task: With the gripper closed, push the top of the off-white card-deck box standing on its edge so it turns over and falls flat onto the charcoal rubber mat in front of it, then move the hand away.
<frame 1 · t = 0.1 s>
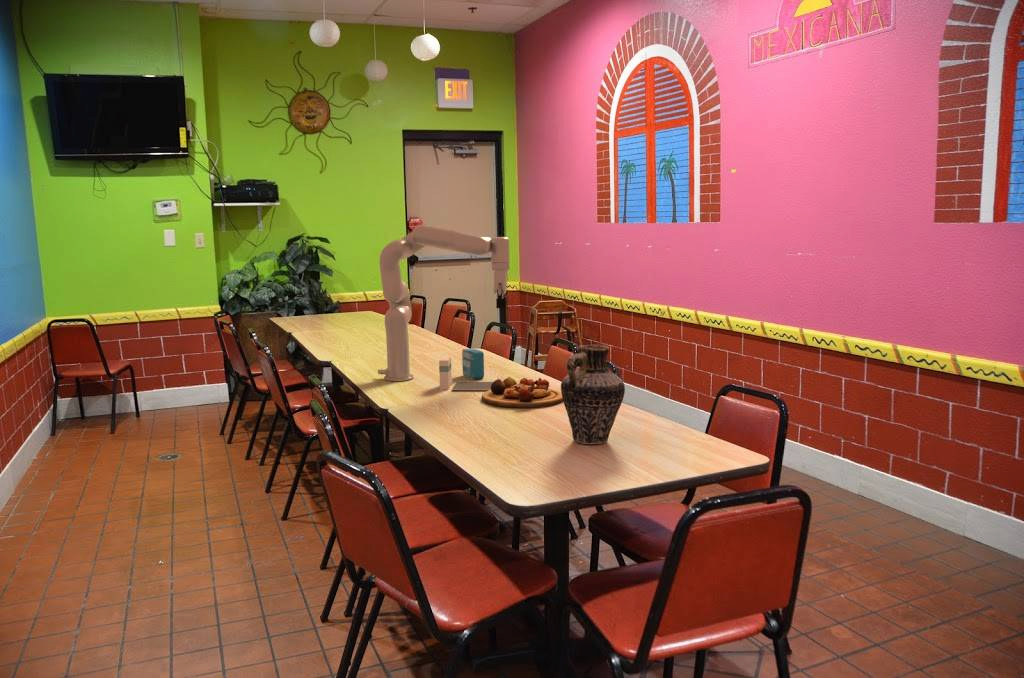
hand: (501, 306, 343), 31 cm above the table, tool pointing down, fingers open, 9 cm apart
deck: (445, 387, 333), on the table
wooden plate with food: (523, 400, 310), on the table
mat: (477, 387, 332), on the table
data package: (473, 377, 353), on the table
jug: (591, 442, 250), on the table
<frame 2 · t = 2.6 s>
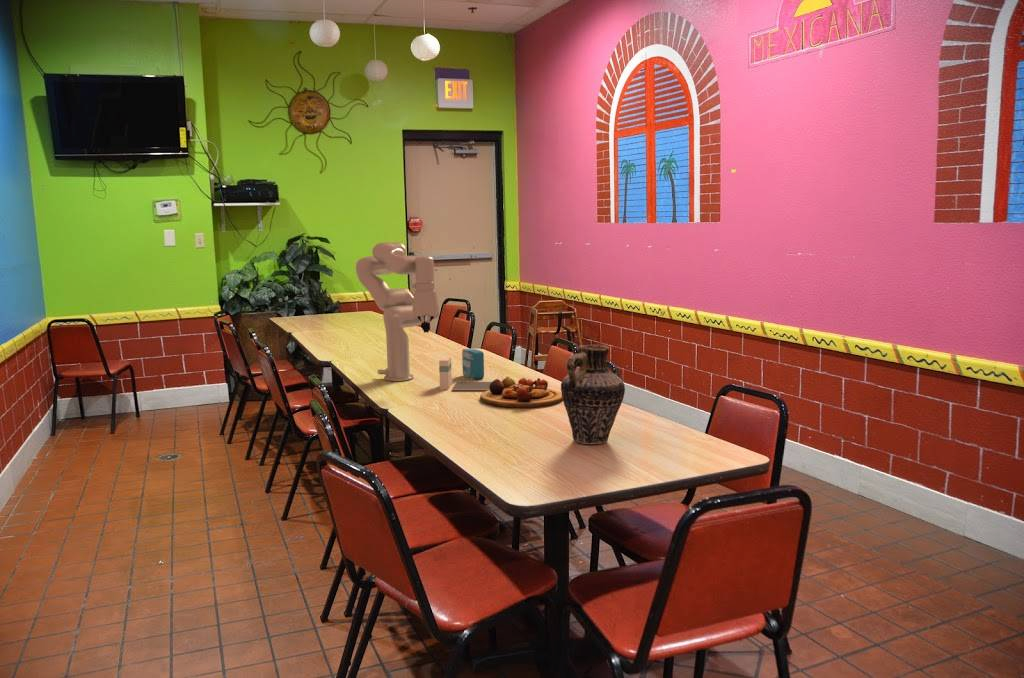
hand: (426, 332, 330), 23 cm above the table, tool pointing down, fingers closed
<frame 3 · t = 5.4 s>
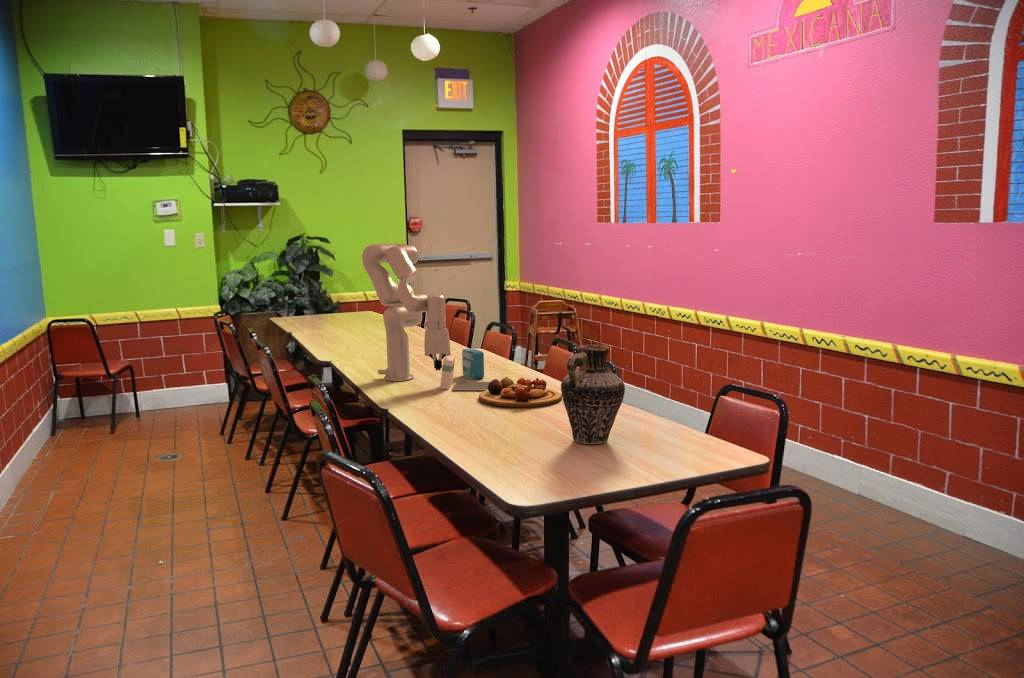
hand: (438, 369, 332), 7 cm above the table, tool pointing down, fingers closed
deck: (445, 386, 333), on the table, tilted 8°
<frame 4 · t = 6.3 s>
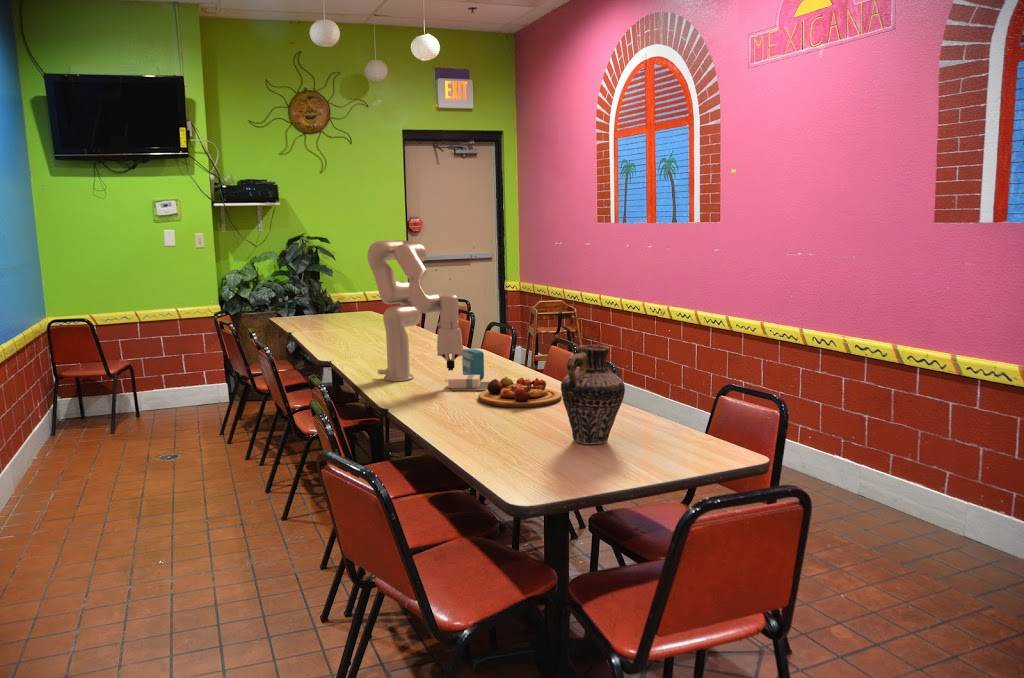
hand: (450, 369, 331), 7 cm above the table, tool pointing down, fingers closed
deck: (449, 381, 332), point 2 cm above the table, tilted 89°, touching mat
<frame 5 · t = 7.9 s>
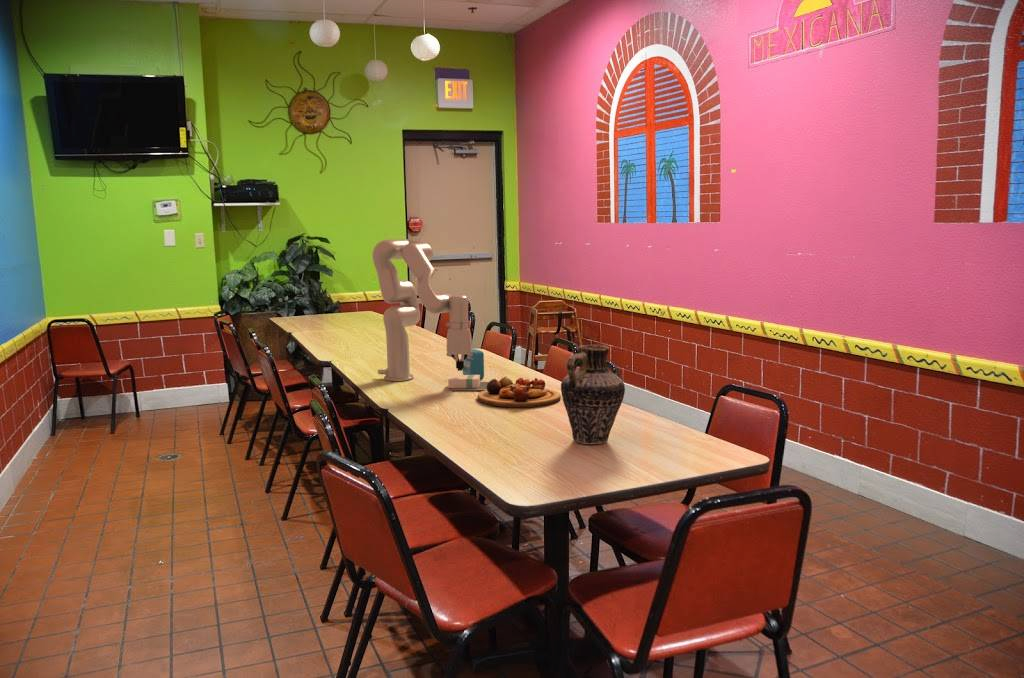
hand: (460, 370, 331), 7 cm above the table, tool pointing down, fingers closed
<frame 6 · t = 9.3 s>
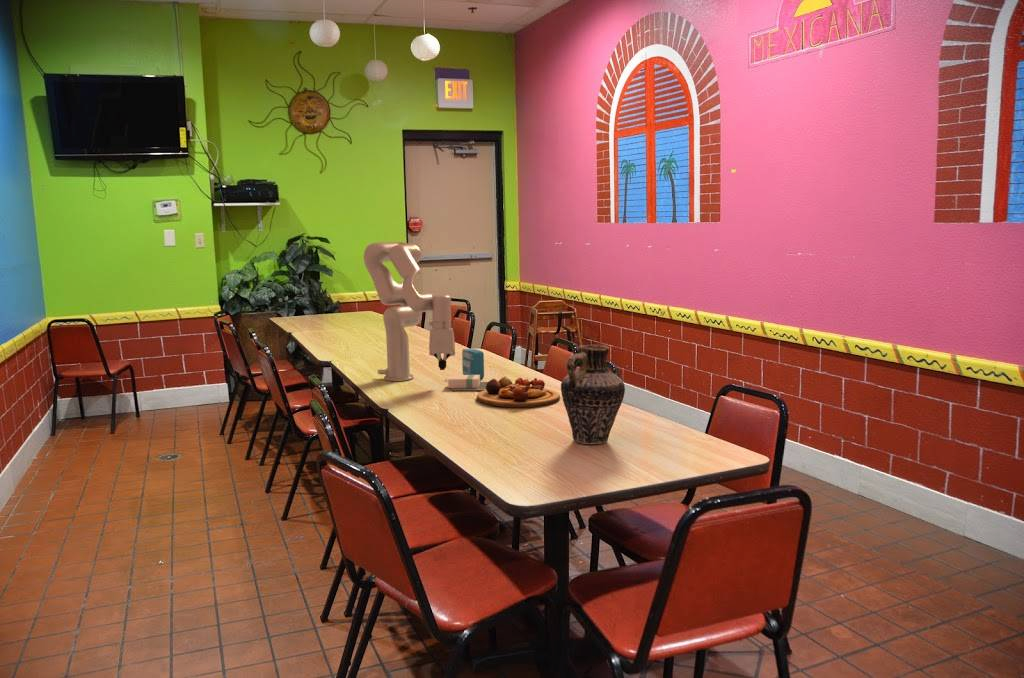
hand: (442, 369, 332), 7 cm above the table, tool pointing down, fingers closed
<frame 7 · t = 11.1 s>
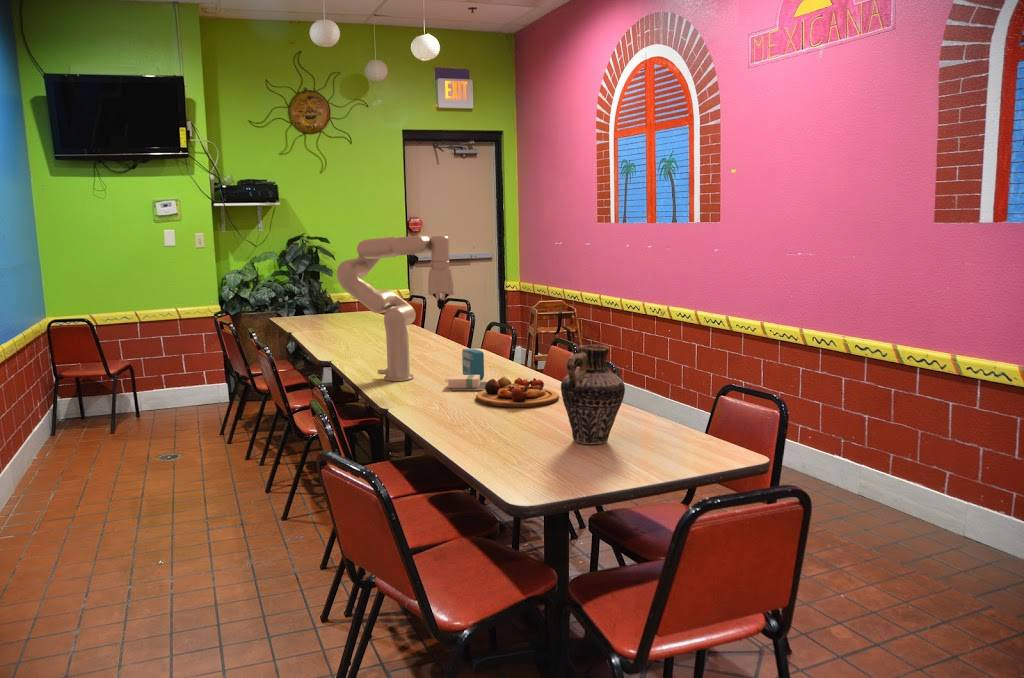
hand: (441, 309, 341), 31 cm above the table, tool pointing down, fingers closed
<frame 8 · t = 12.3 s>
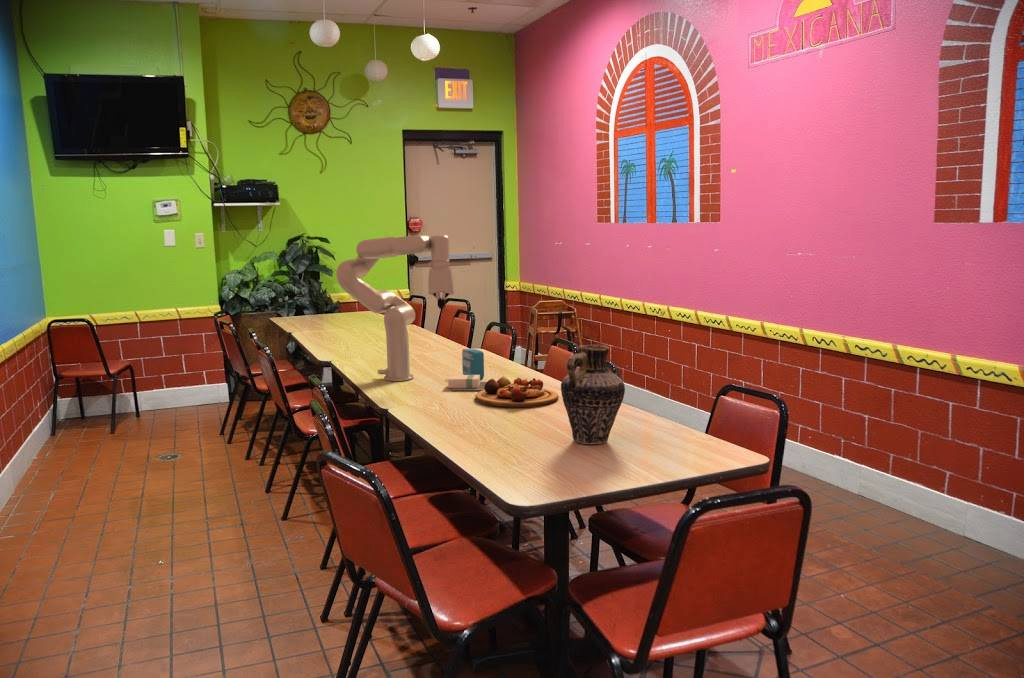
hand: (441, 308, 341), 31 cm above the table, tool pointing down, fingers closed
at the end: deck tilted 89°; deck inside the target area (8.8 cm from its centre), point 2.4 cm above the table; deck moved 2.9 cm from its start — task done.
